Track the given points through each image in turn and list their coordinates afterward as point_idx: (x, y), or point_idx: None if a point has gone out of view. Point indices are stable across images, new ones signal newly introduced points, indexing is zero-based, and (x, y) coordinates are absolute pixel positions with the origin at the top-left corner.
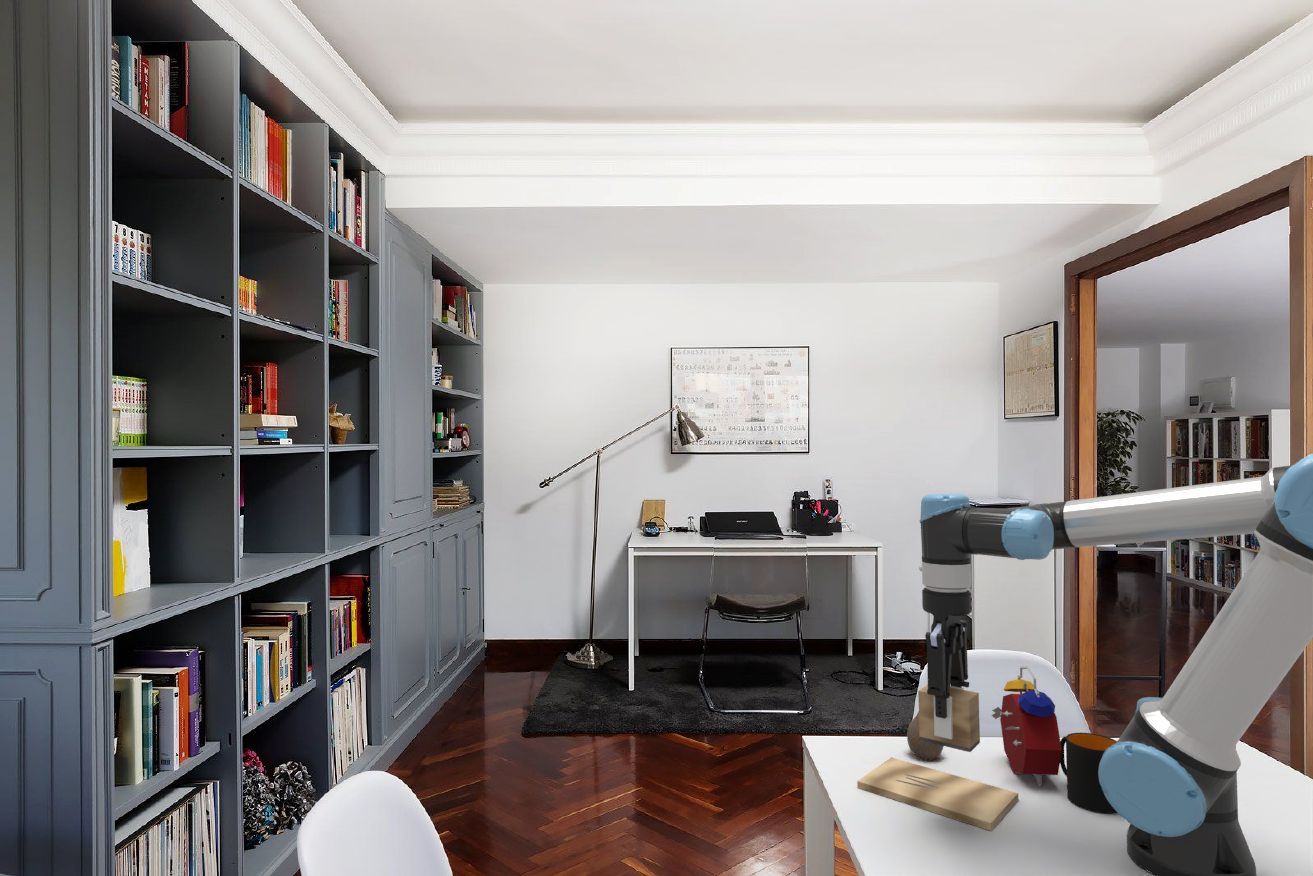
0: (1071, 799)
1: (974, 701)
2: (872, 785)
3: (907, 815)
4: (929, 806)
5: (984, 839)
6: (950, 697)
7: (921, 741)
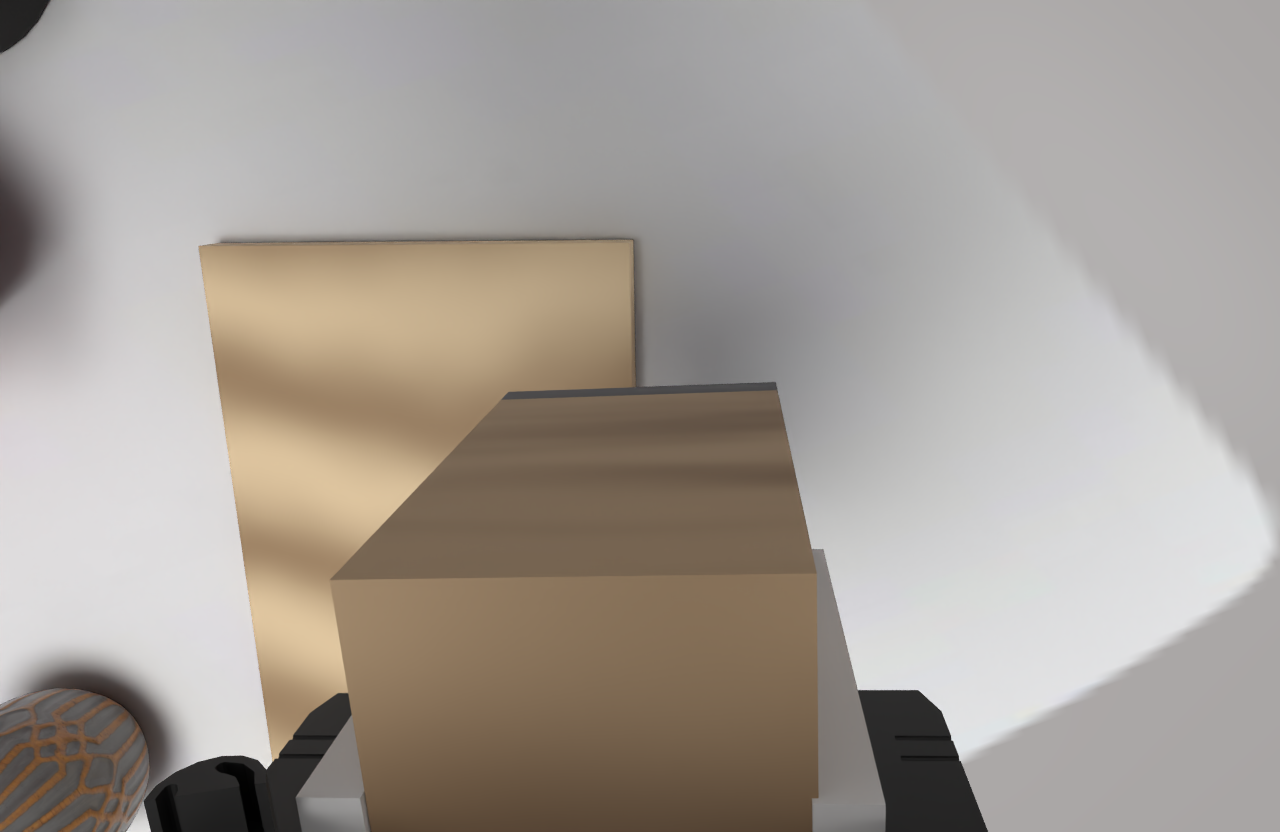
0: (25, 17)
1: (560, 544)
2: None
3: None
4: None
5: (734, 237)
6: (859, 813)
7: (107, 794)
